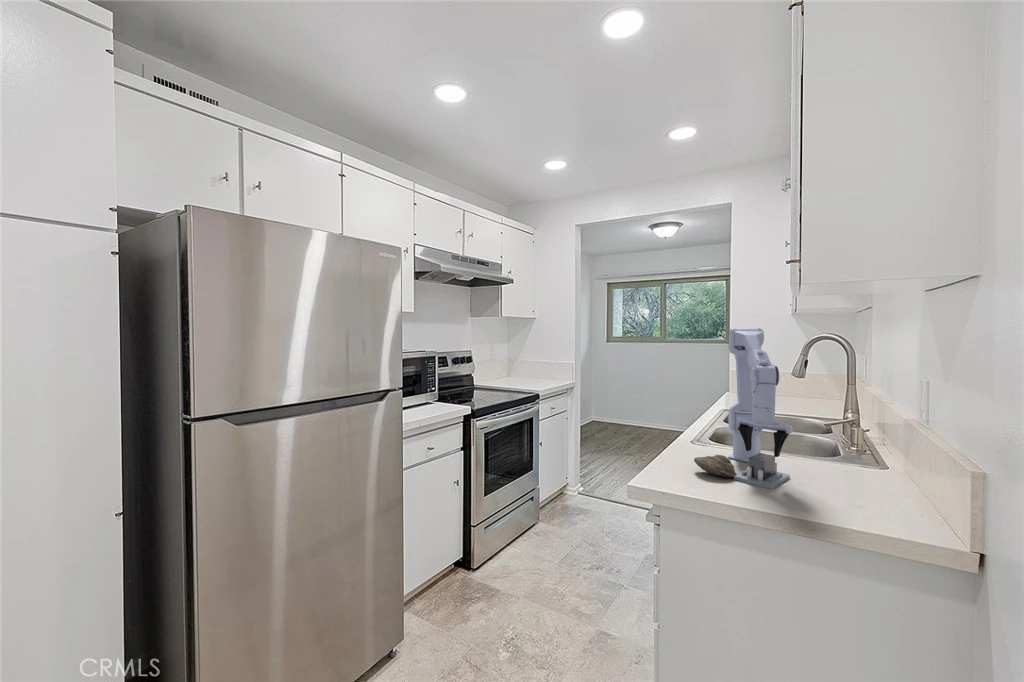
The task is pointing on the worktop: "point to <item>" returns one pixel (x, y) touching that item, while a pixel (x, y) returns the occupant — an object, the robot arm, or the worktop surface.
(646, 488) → the worktop surface
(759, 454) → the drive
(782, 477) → the grey pegged plate
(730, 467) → the fossilized seashell
